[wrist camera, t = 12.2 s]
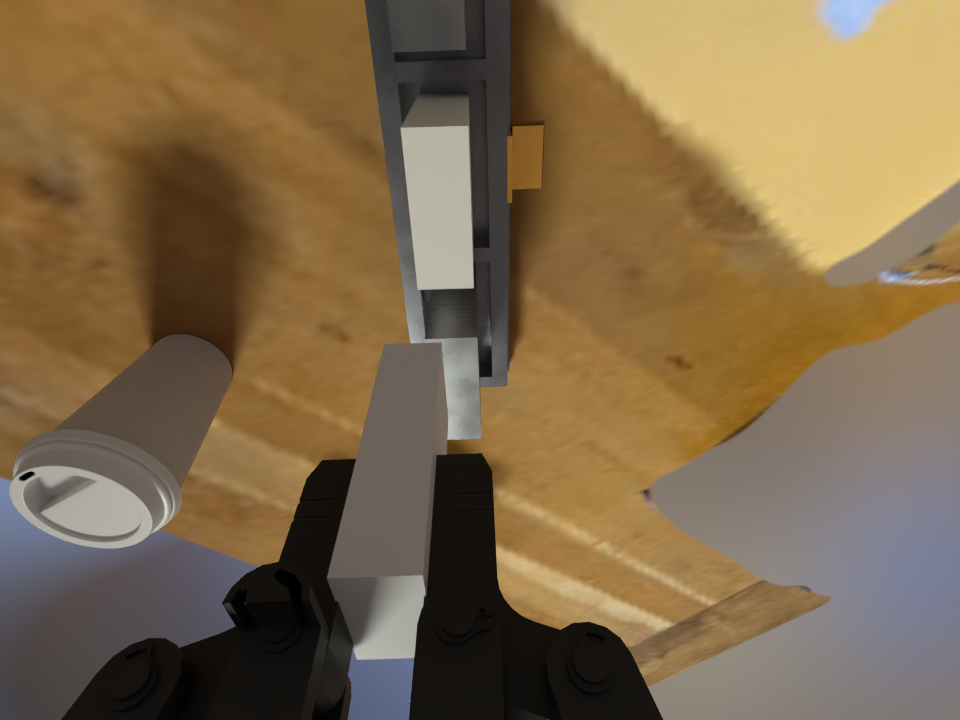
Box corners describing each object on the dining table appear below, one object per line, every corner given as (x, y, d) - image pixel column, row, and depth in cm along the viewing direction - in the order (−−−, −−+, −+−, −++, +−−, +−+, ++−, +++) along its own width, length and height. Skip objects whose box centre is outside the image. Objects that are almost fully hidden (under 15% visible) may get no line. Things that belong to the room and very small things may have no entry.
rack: (340, -213, 24) (262, -343, 15) (556, -221, 24) (610, -358, 15) (416, 367, 43) (402, 462, 34) (534, 363, 43) (550, 457, 34)
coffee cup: (221, 310, 40) (111, 446, 28) (268, 401, 45) (194, 548, 33) (108, 326, 41) (-48, 465, 28) (168, 413, 46) (59, 562, 34)
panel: (419, 93, 30) (400, 127, 22) (468, 92, 30) (468, 125, 22) (429, 222, 35) (417, 289, 27) (472, 221, 35) (473, 288, 27)
